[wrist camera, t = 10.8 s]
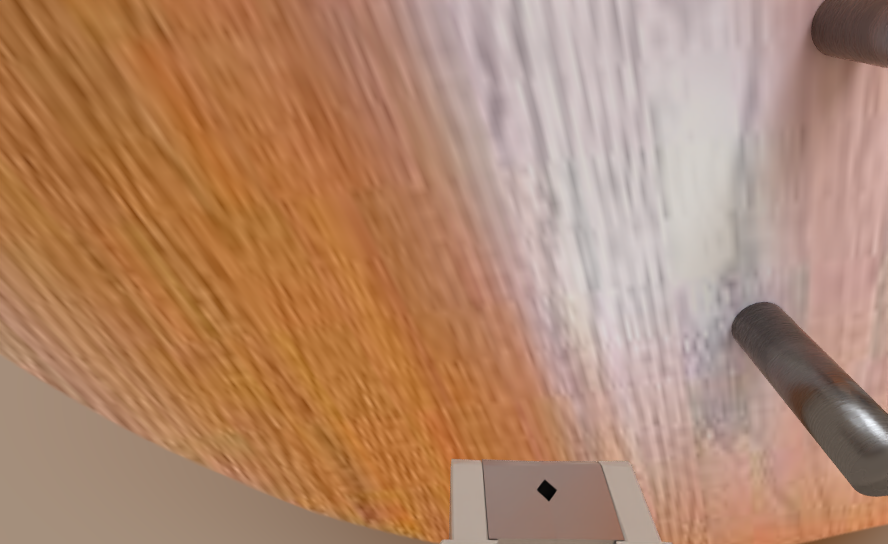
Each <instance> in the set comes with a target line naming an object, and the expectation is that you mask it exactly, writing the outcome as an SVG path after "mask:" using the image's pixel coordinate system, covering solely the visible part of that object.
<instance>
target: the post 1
mask: <svg viewBox="0 0 888 544" xmlns="http://www.w3.org/2000/svg"><path fill="white" fill-rule="evenodd" d="M732 334H733V337H734V339H735V340H736V341H737V342H738V344H739V345H740V346H741V347H742V349H743V350H744V351H745V352H746V354H747V355H748V356H749V357H750V359H751V360H752V361H753V362H754V364H755V365H756V366H757V367H758V369H759V370H760V371H761V373H762V374H763V375H764V376H765V378H766V379H767V380H768V381H769V383H770V384H771V385H772V386H773V388H774V389H775V390H776V391H777V393H778V394H779V395H780V396H781V398H782V399H783V400H784V401H785V403H786V404H787V405H788V406H789V408H790V409H791V410H792V411H793V413H794V414H795V415H796V416H797V418H798V419H799V420H800V421H801V423H802V424H803V425H804V426H805V428H806V429H807V430H808V431H809V433H810V434H811V435H812V436H813V438H814V439H815V440H816V441H817V443H818V444H819V445H820V446H821V448H822V449H823V450H824V451H825V453H826V454H827V455H828V457H829V458H830V459H831V460H832V462H833V463H834V464H835V465H836V467H837V468H838V469H839V470H840V472H841V473H842V474H843V475H844V477H845V478H846V479H847V480H848V482H849V483H850V484H851V485H852V487H853V488H854V489H855V490H856V491H858V492H859V493H861V494H863V495H867V496H875V497H878V496H887V495H888V414H887V413H886V412H885V411H884V410H883V409H882V408H881V407H880V406H879V405H878V404H877V403H876V402H875V401H874V400H873V399H872V398H871V397H870V396H869V395H868V394H867V393H866V392H865V391H864V390H863V389H862V388H861V387H860V386H859V385H858V384H857V383H856V382H855V381H854V380H853V379H852V378H851V377H850V376H849V375H848V374H847V373H846V372H845V371H844V370H843V369H842V368H841V367H840V366H839V365H838V364H837V363H836V362H835V361H834V360H833V359H832V358H831V357H829V356H828V355H827V354H826V353H825V352H824V351H823V350H822V349H821V348H820V347H819V346H818V345H817V344H816V343H815V342H814V341H813V340H812V339H811V338H810V337H809V336H808V335H807V334H806V333H805V332H804V331H803V330H802V329H801V328H800V327H799V326H798V325H797V324H796V323H795V322H794V321H793V320H792V319H791V318H790V317H789V316H788V315H787V314H786V313H785V312H784V311H783V310H782V309H781V308H780V307H779V306H777V305H775V304H773V303H768V302H761V303H756V304H753V305H750V306H748V307H747V308H745V309H744V310H742V311H741V312H740V313H739V314H738V315H737V317H736V318H735V320H734V322H733V325H732Z"/></svg>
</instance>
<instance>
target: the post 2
mask: <svg viewBox="0 0 888 544" xmlns="http://www.w3.org/2000/svg"><path fill="white" fill-rule="evenodd" d="M811 32H812V39H813V42H814V44H815V46H816V48H817V49H818V50H819V51H820V52H822V53H823V54H825V55H828V56H832V57H837V58H842V59H846V60H851V61H856V62H861V63H866V64H870V65H875V66H880V67H885V68H888V0H825V1H824V2H823V3H822V4H821V6H820V7H819V9H818V10H817V12H816V14H815V16H814V19H813V23H812V30H811Z"/></svg>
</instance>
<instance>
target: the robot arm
mask: <svg viewBox="0 0 888 544" xmlns="http://www.w3.org/2000/svg"><path fill="white" fill-rule="evenodd" d="M440 544H673V543H671V542H662V541H661V539H660V536H659V534H658V531H657V529H656V526H655V523H654V521H653V518H652V516H651V513H650V511H649V508H648V505H647V503H646V500H645V498H644V495H643V493H642V490H641V487H640V485H639V482H638V480H637V477H636V475H635V472H634V470H633V467H632V465H631V464H630V463H629V462H628V461H598V462H596V461H539V462H537V461H510V460H482V461H481V460H463V459H452V460H451V480H450V519H449V540H442V541H441V543H440Z"/></svg>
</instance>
